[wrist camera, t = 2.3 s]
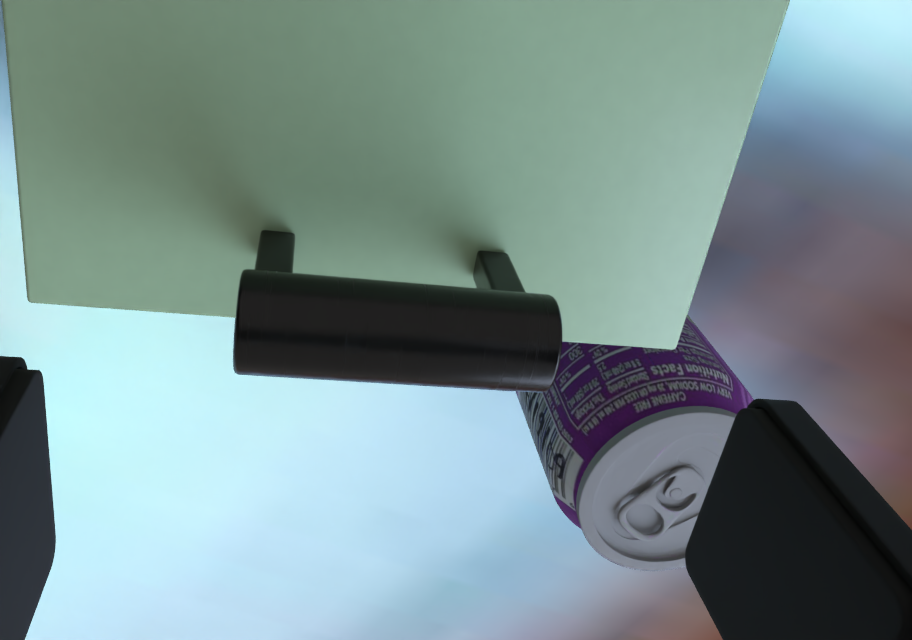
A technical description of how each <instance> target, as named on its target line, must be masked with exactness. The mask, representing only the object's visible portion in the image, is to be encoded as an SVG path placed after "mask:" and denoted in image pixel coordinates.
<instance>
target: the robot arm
mask: <svg viewBox="0 0 912 640" xmlns="http://www.w3.org/2000/svg"><path fill="white" fill-rule="evenodd" d="M55 543H56V536H55V523H54V510H53V497H52V485H51V472H50V459H49V447H48V434H47V421H46V409H45V396H44V383H43V376H42V373H41V372H40V371H39V370H27V366H26V363H25V360H24V359H23V358H21V357H4V356H0V640H25V637H26V634H27V632H28V629H29V626H30V624H31V621H32V618H33V616H34V613H35V610H36V607H37V605H38V602H39V599H40V597H41V594H42V591H43V588H44V586H45V583H46V580H47V578H48V575H49V572H50V570H51V566H52V563H53V558H54V553H55ZM685 563H686V568H687V571H688V573H689V576H690V577H691V579H692V581H693V583H694V585H695V587H696V589H697V591H698V593H699V595H700V597H701V598H702V600H703V602H704V604H705V606H706V608H707V610H708V612H709V614H710V616H711V618H712V619H713V621H714V623H715V625H716V627H717V629H718V631H719V633H720V635H721V637H722V639H723V640H912V530H911V529H910V528H909V527H908V525H907V524H906V523H905V522H904V521H903V520H902V519H901V518H900V516H899V515H898V514H897V513H896V512H895V511H894V510H893V509H892V507H891V506H890V505H889V504H888V503H887V502H886V501H885V500H884V499H883V497H882V496H881V495H880V494H879V493H878V492H877V491H876V490H875V488H874V487H873V486H872V485H871V484H870V483H869V482H868V481H867V479H866V478H865V477H864V476H863V475H862V474H861V473H860V472H859V470H858V469H857V468H856V467H855V466H854V465H853V464H852V463H851V461H850V460H849V459H848V458H847V457H846V456H845V455H844V454H843V452H842V451H841V450H840V449H839V448H838V447H837V446H836V445H835V443H834V442H833V441H832V440H831V439H830V438H829V437H828V436H827V434H826V433H825V432H824V431H823V430H822V429H821V428H820V427H819V425H818V424H817V423H816V422H815V421H814V420H813V419H812V418H811V417H810V415H809V414H808V413H807V412H806V411H805V410H804V409H803V408H802V406H801V405H799V404H798V403H797V402H794V401H787V400H769V399H756V400H753V401H752V402H751V403H750V404H749V405H748V406H747V408H743V409H741V410H740V411H739V412H738V413H737V415H736V417H735V419H734V422H733V425H732V427H731V430H730V433H729V435H728V438H727V440H726V443H725V446H724V448H723V451H722V454H721V456H720V459H719V462H718V464H717V467H716V470H715V472H714V475H713V477H712V480H711V483H710V485H709V488H708V491H707V493H706V496H705V499H704V501H703V504H702V507H701V509H700V512H699V514H698V517H697V520H696V522H695V525H694V528H693V530H692V533H691V536H690V538H689V541H688V544H687V547H686V551H685Z"/></svg>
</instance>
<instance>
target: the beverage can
mask: <svg viewBox="0 0 912 640" xmlns="http://www.w3.org/2000/svg"><path fill="white" fill-rule="evenodd" d="M516 393H517V396H518V399H519V402H520V404H521V407H522V410H523V413H524V416H525V418H526V421H527V424H528V427H529V429H530V432H531V435H532V438H533V440H534V443H535V446H536V449H537V452H538V454H539V457H540V460H541V463H542V465H543V468H544V471H545V474H546V476H547V479H548V482H549V485H550V487H551V490H552V493H553V495H554V497H555V500H556V502H557V504H558V505H559V507H560V509H561V510H562V511H563V513H564V514H565V515H566V516H567V517H568V518H569V519H570V520H571V521H572V522H573V523H574V524H575V525H576V526H578V527H579V528H581V529H582V531H583V533H584V536H585V538H586V539H587V541H588V542H589V544H590V545H591V546H592V548H593V549H594V550H595V551H596V552H598V553H599V554H600V555H601V556H603V557H604V558H606V559H607V560H609V561H611V562H613V563H615V564H617V565H620V566H623V567H626V568H630V569H635V570H644V571H663V570H671V569H677V568H681V567H686V563H685V551H686V547H687V544H688V541H689V538H690V536H691V533H692V530H693V528H694V525H695V522H696V520H697V517H698V514H699V512H700V509H701V507H702V504H703V501H704V499H705V496H706V493H707V491H708V488H709V485H710V483H711V480H712V477H713V475H714V472H715V470H716V467H717V464H718V462H719V459H720V456H721V454H722V451H723V448H724V446H725V443H726V440H727V438H728V435H729V433H730V430H731V427H732V425H733V422H734V419H735V417H736V415H737V413H738V412H739V411H740V410H741V409H743V408H747V406H748V405H749V404H750V403H751V402H752V401H753V398H752V396H751V395H750V393H749V392H748V391H747V389H746V388H745V387H744V386H743V384H742V383H741V382H740V381H739V379H738V378H737V377H736V375H735V374H734V373H733V372H732V370H731V369H730V368H729V367H728V365H727V364H726V363H725V362H724V360H723V359H722V358H721V356H720V355H719V354H718V353H717V351H716V350H715V349H714V348H713V346H712V345H711V344H710V343H709V341H708V340H707V339H706V337H705V336H704V335H703V334H702V332H701V331H700V330H699V329H698V327H697V326H696V325H695V323H694V322H693V321H692V320H691V318H690V317H689V316H688V315H687V316H686V319H685V322H684V325H683V328H682V331H681V335H680V338H679V341H678V344H677V347H676V348H675V349H673V350H671V349H658V348H644V347H630V346H617V345H603V344H589V343H576V342H562V351H561V358H560V364H559V368H558V371H557V375H556V378H555V380H554V382H553V384H552V386H551V387H550V389H549V390H547V391H545V392H543V393H537V392H520V391H516Z"/></svg>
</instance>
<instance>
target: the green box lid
mask: <svg viewBox="0 0 912 640" xmlns="http://www.w3.org/2000/svg"><path fill="white" fill-rule="evenodd" d="M789 2H790V0H2V9H3V20H4V32H5V43H6V55H7V67H8V78H9V90H10V102H11V113H12V125H13V136H14V148H15V160H16V171H17V183H18V194H19V206H20V218H21V229H22V241H23V253H24V264H25V276H26V287H27V298H28V301H29V302H31V303H44V304H57V305H71V306H84V307H98V308H112V309H125V310H139V311H153V312H166V313H180V314H194V315H207V316H221V317H235V331H234V350H233V367H234V371H235V373H237V374H239V375H254V376H271V377H288V378H304V379H321V380H337V381H354V382H371V383H387V384H404V385H420V386H437V387H454V388H470V389H487V390H503V391H520V392H537V393H543V392H545V391H547V390H549V389H550V387H551V386H552V384H553V382H554V380H555V378H556V375H557V371H558V368H559V364H560V358H561V351H562V342H576V343H589V344H603V345H617V346H630V347H644V348H658V349H671V350H673V349H675V348H676V347H677V344H678V341H679V338H680V335H681V331H682V328H683V325H684V322H685V319H686V316H687V313H688V310H689V307H690V304H691V301H692V298H693V295H694V292H695V289H696V286H697V283H698V280H699V276H700V273H701V270H702V267H703V264H704V261H705V258H706V255H707V252H708V249H709V246H710V243H711V240H712V237H713V234H714V231H715V228H716V225H717V222H718V218H719V215H720V212H721V209H722V206H723V203H724V200H725V197H726V194H727V191H728V188H729V185H730V182H731V179H732V176H733V173H734V170H735V167H736V164H737V160H738V157H739V154H740V151H741V148H742V145H743V142H744V139H745V136H746V133H747V130H748V127H749V124H750V121H751V118H752V115H753V112H754V109H755V106H756V102H757V99H758V96H759V93H760V90H761V87H762V84H763V81H764V78H765V75H766V72H767V69H768V66H769V63H770V60H771V57H772V54H773V51H774V47H775V44H776V41H777V38H778V35H779V32H780V29H781V26H782V23H783V20H784V17H785V14H786V11H787V8H788V5H789Z"/></svg>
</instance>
